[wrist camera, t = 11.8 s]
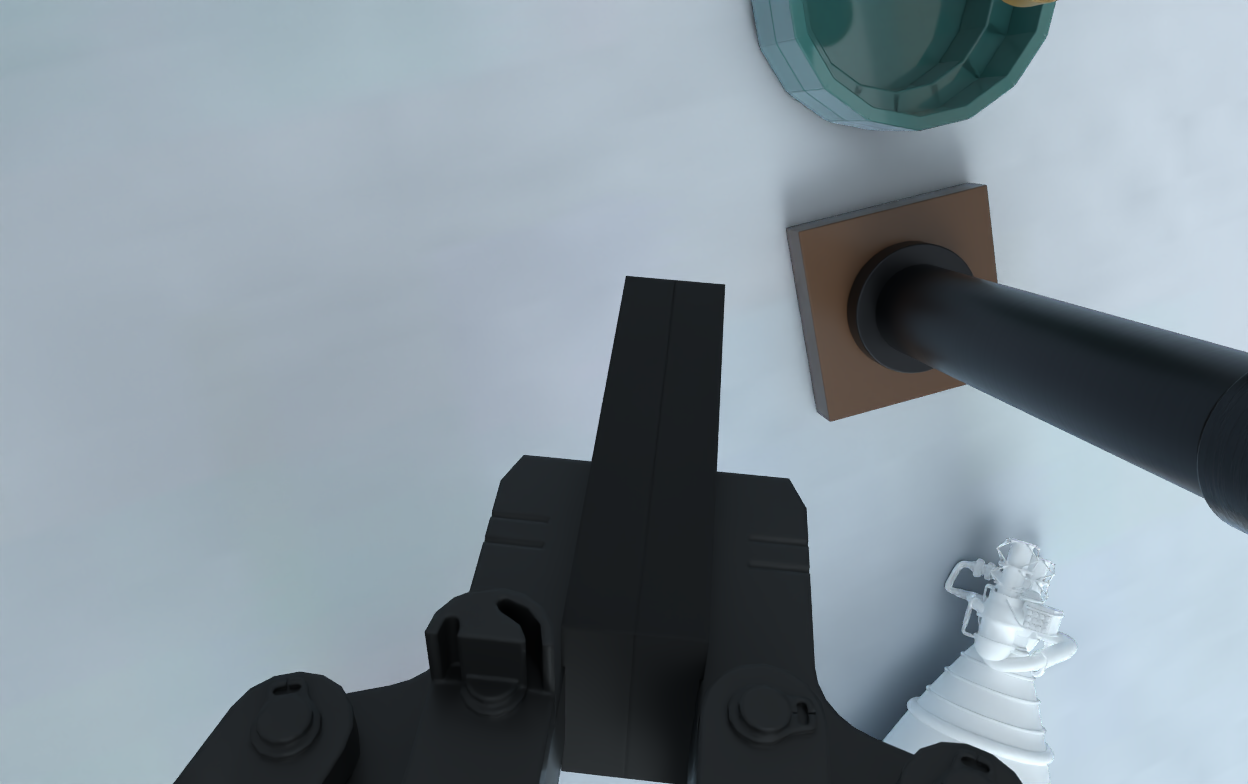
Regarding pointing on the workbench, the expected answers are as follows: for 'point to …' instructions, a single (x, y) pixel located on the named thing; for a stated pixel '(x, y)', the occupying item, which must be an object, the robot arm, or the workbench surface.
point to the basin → (899, 56)
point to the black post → (991, 335)
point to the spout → (1218, 437)
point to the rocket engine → (995, 670)
